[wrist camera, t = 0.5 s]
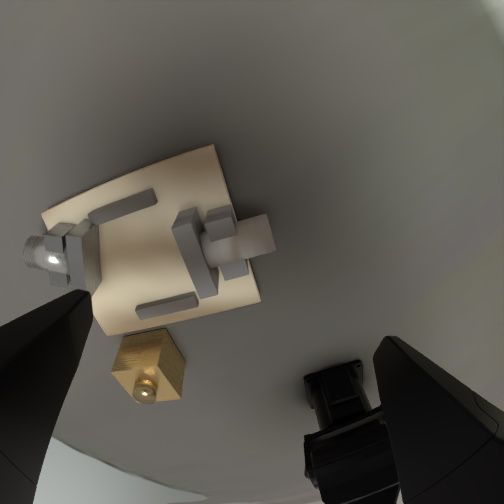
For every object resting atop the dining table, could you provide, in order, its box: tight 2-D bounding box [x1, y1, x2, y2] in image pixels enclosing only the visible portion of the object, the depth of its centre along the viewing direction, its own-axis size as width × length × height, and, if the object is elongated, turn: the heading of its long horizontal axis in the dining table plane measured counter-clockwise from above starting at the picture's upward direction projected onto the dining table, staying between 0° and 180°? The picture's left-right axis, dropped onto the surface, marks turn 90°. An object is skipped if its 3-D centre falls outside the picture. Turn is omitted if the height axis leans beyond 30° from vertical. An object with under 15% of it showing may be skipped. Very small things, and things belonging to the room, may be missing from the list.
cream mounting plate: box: [41, 144, 276, 336], centre depth 19 cm, size 12×16×4 cm
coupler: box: [111, 328, 185, 404], centre depth 23 cm, size 4×4×6 cm
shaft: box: [23, 219, 102, 297], centre depth 18 cm, size 6×5×3 cm
